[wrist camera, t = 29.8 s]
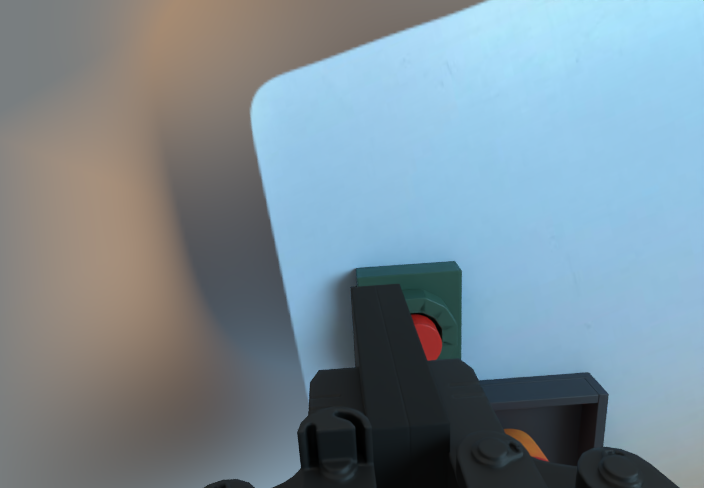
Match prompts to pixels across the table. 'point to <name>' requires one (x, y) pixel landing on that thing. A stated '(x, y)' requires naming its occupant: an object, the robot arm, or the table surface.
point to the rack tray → (552, 412)
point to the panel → (426, 296)
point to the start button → (428, 336)
